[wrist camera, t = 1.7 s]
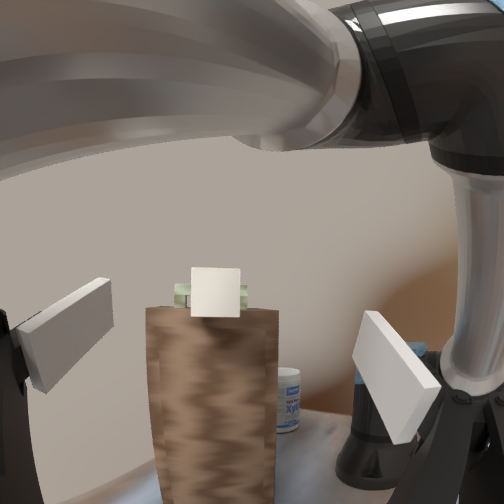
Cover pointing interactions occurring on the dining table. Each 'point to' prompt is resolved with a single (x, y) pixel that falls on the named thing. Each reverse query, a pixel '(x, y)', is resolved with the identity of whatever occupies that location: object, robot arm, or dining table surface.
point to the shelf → (213, 402)
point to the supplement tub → (288, 399)
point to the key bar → (215, 292)
